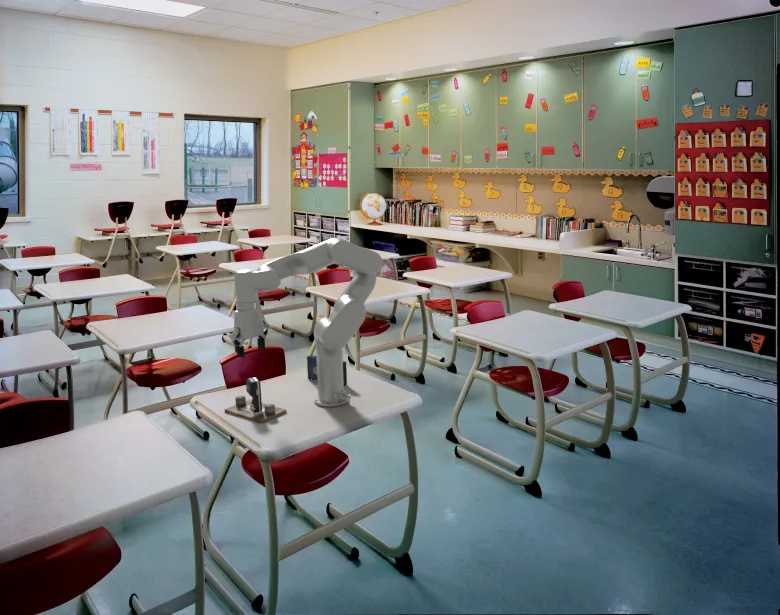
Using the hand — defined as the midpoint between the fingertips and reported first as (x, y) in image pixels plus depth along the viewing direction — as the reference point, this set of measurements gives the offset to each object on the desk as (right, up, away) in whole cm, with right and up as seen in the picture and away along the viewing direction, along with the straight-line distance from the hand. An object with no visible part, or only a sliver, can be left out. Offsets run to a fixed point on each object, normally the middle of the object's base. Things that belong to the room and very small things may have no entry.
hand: (251, 353), depth 224 cm
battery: (0, -21, +4) cm, 21 cm away
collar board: (0, -22, +5) cm, 22 cm away
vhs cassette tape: (+23, -15, +35) cm, 44 cm away
